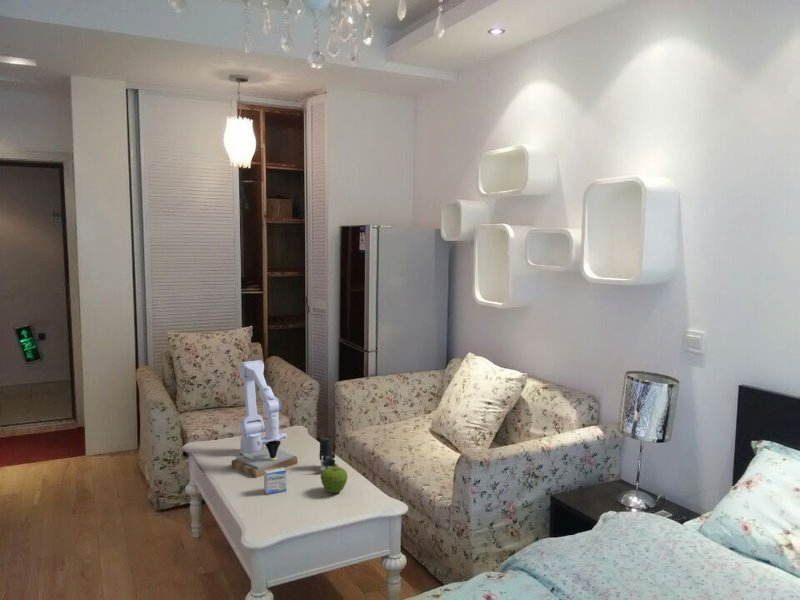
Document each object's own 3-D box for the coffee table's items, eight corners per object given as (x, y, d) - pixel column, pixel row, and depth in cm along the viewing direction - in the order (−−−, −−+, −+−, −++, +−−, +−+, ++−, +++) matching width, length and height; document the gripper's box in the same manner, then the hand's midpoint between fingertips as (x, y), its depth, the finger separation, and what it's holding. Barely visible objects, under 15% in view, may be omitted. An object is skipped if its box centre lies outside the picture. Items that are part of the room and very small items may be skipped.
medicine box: (267, 495, 238) (266, 473, 237) (264, 491, 242) (263, 469, 241) (286, 491, 241) (286, 470, 241) (283, 487, 245) (283, 466, 244)
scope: (320, 443, 257) (314, 436, 266) (320, 474, 258) (314, 466, 267) (339, 440, 260) (332, 433, 269) (339, 471, 262) (332, 464, 271)
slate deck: (235, 459, 267) (234, 453, 267) (270, 448, 281) (270, 443, 281) (258, 469, 256) (258, 463, 256) (293, 457, 270) (293, 451, 270)
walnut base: (231, 467, 267) (231, 460, 266) (272, 453, 283) (272, 447, 283) (256, 477, 255) (256, 470, 255) (297, 463, 271) (297, 456, 271)
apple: (316, 489, 243) (316, 465, 242) (340, 484, 248) (340, 460, 247) (327, 499, 234) (327, 474, 233) (352, 494, 239) (352, 469, 238)
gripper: (263, 432, 255) (264, 464, 257) (291, 425, 266) (291, 455, 267) (253, 429, 260) (254, 460, 261) (281, 422, 271) (281, 451, 272)
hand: (272, 457), depth 265 cm, fingers closed, pressing on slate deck
